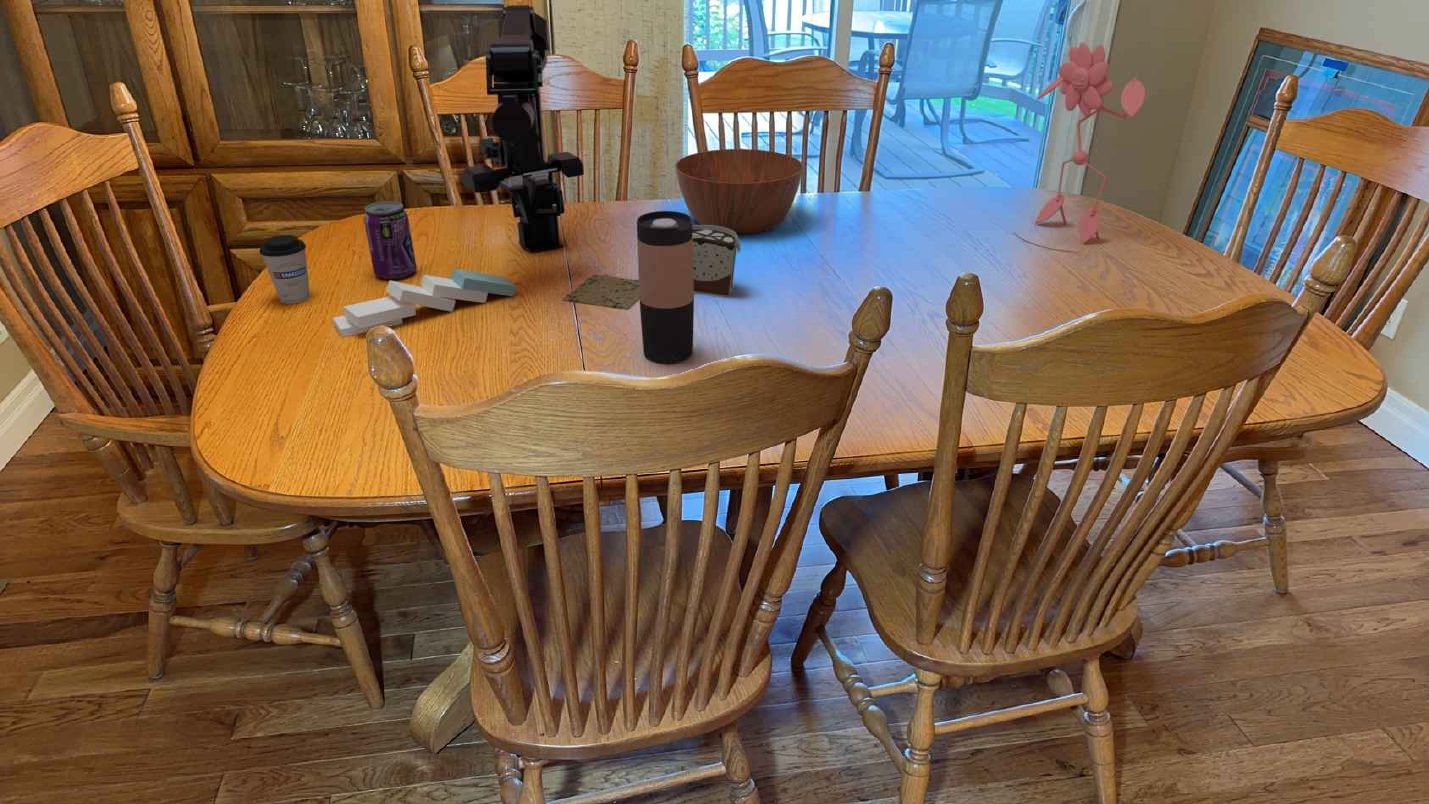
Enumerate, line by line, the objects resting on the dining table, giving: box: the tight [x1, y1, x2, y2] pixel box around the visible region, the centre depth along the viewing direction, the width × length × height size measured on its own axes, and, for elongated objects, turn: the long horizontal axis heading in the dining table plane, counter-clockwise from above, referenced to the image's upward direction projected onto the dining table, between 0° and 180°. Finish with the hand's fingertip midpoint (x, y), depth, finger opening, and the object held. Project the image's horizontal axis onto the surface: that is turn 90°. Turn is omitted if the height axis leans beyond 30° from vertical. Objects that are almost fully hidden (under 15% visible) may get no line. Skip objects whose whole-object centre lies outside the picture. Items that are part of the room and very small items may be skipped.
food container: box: [692, 224, 742, 298], centre depth 152 cm, size 12×6×10 cm, turn 71°
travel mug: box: [636, 210, 695, 365], centre depth 128 cm, size 8×8×20 cm
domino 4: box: [420, 274, 489, 304], centre depth 147 cm, size 2×5×9 cm
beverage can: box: [363, 200, 418, 280], centre depth 157 cm, size 7×7×12 cm
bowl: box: [675, 148, 805, 235], centre depth 182 cm, size 25×25×11 cm
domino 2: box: [332, 314, 403, 338], centre depth 141 cm, size 2×5×9 cm
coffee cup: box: [258, 234, 311, 305], centre depth 148 cm, size 7×7×10 cm
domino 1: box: [343, 295, 417, 328], centre depth 140 cm, size 2×5×9 cm
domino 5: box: [450, 268, 517, 297], centre depth 150 cm, size 2×5×9 cm
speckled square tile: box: [561, 274, 640, 311], centre depth 153 cm, size 12×12×1 cm
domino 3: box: [386, 279, 456, 312], centre depth 144 cm, size 2×5×9 cm
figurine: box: [1012, 42, 1146, 254], centre depth 168 cm, size 15×26×35 cm, turn 23°
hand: (529, 222), depth 152 cm, fingers closed
